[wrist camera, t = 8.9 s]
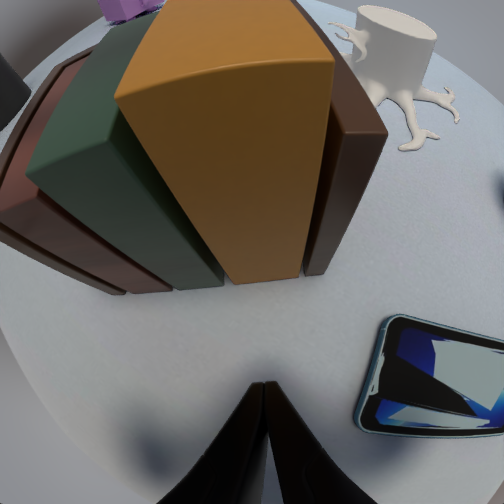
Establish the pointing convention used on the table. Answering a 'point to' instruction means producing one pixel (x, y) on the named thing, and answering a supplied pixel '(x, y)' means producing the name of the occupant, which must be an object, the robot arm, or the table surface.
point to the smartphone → (433, 382)
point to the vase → (11, 93)
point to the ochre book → (235, 125)
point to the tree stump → (394, 63)
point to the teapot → (126, 8)
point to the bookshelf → (148, 178)
